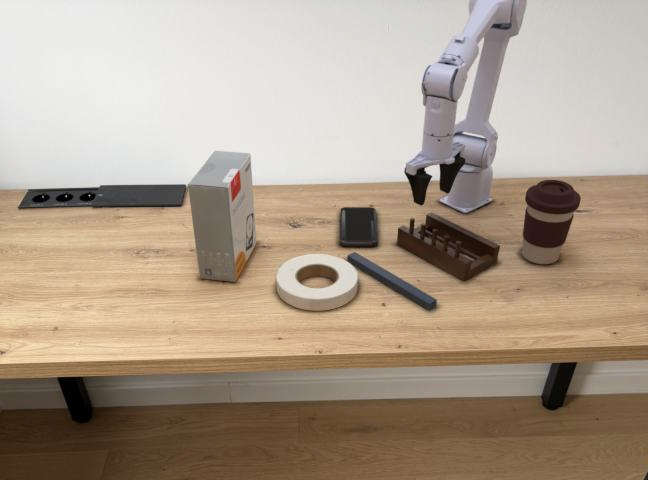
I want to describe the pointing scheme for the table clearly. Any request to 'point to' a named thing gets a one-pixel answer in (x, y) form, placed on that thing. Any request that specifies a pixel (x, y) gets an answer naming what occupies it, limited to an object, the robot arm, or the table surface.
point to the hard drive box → (223, 215)
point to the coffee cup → (548, 220)
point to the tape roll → (317, 297)
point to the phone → (358, 227)
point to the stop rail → (392, 281)
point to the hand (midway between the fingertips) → (431, 197)
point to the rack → (450, 237)
